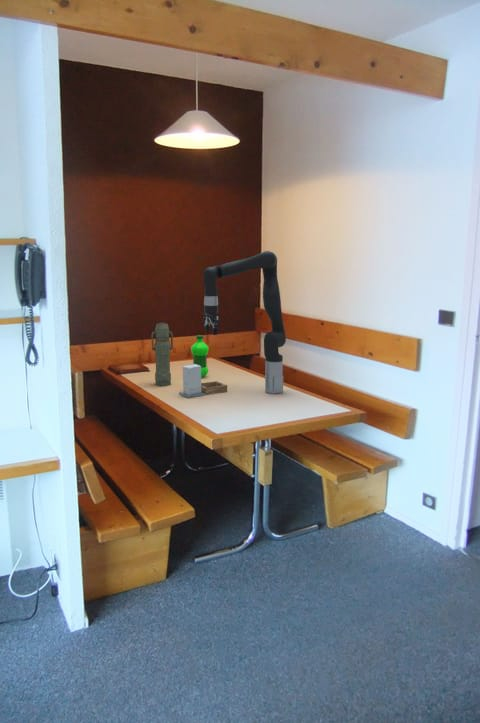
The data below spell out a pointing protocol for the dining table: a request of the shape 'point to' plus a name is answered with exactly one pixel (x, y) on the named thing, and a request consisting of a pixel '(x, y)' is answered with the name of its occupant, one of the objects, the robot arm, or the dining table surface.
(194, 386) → the skincare box
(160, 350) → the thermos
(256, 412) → the dining table surface
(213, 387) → the wooden crate
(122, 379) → the dining table surface
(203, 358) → the plastic bottle
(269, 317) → the robot arm
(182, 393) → the slate pad
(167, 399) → the dining table surface
